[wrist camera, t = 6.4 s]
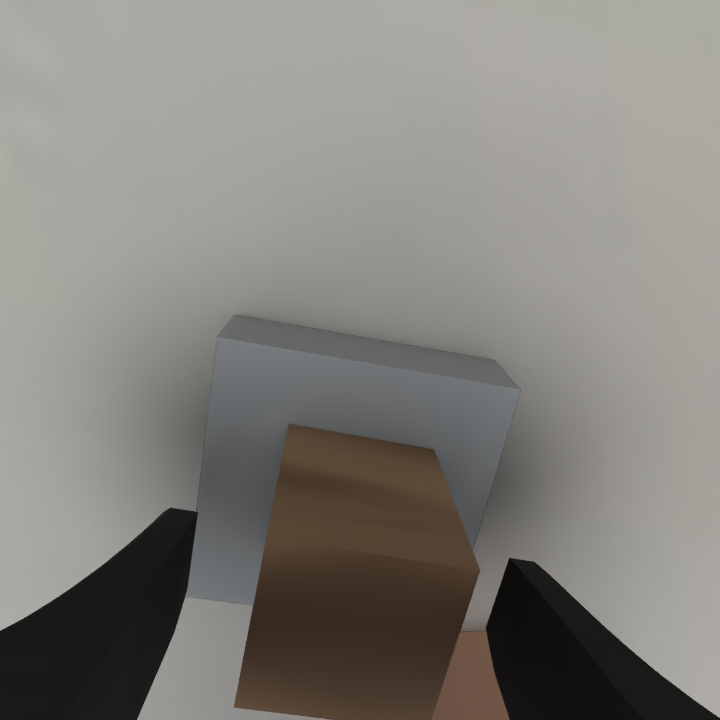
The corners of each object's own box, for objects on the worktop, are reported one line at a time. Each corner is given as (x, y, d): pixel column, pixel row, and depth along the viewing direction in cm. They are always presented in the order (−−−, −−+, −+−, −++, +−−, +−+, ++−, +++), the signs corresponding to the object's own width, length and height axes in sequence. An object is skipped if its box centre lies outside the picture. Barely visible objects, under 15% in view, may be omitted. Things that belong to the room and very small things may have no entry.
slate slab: (432, 565, 20) (449, 629, 17) (208, 535, 19) (185, 596, 16) (490, 355, 18) (520, 389, 15) (237, 311, 17) (217, 337, 14)
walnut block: (400, 571, 16) (427, 731, 11) (264, 550, 16) (233, 707, 11) (433, 449, 15) (480, 570, 10) (288, 423, 15) (266, 537, 10)
